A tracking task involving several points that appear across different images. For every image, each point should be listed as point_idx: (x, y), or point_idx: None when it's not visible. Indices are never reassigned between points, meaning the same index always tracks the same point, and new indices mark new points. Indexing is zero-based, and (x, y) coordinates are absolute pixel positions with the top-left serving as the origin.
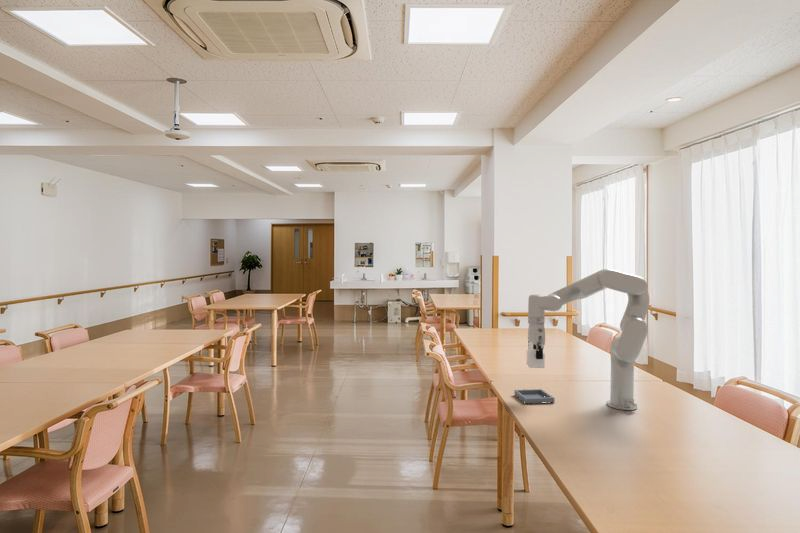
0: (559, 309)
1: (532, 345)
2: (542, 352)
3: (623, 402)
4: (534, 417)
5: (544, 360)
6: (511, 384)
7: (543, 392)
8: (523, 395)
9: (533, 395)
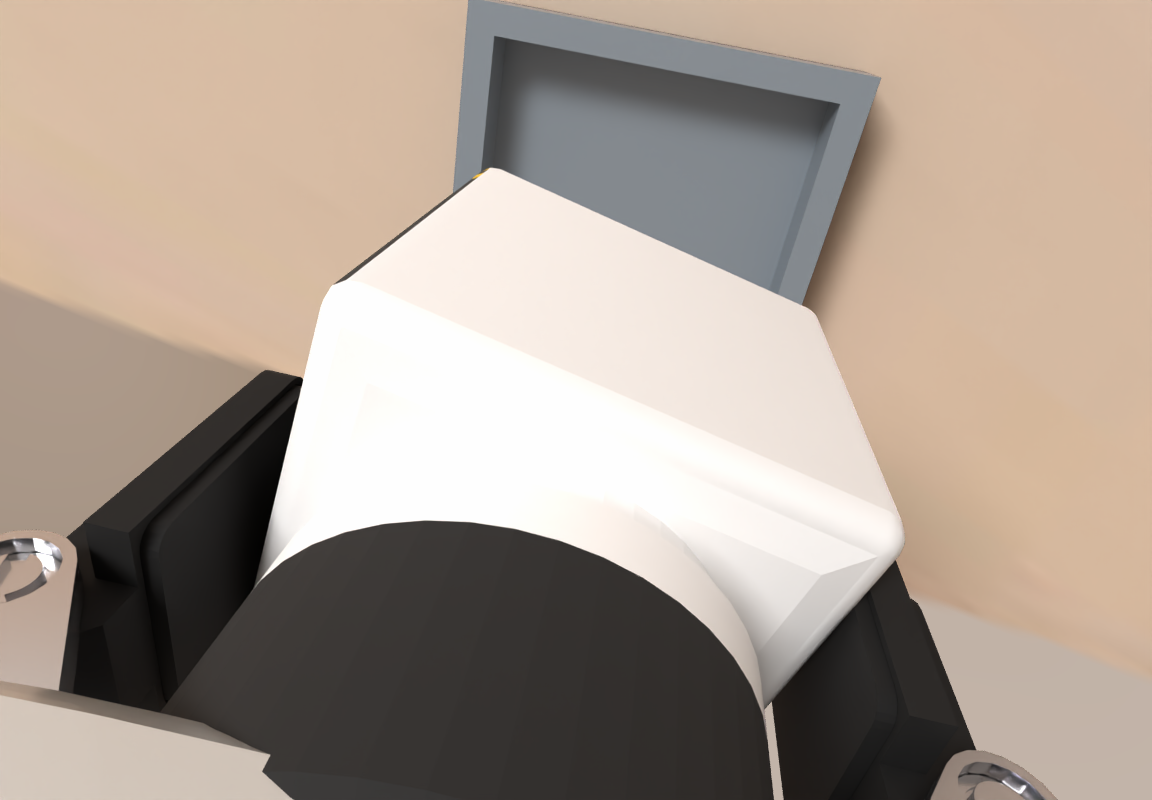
0: None
1: None
2: (928, 675)
3: None
4: (1094, 536)
5: (851, 400)
6: (58, 138)
7: (592, 54)
8: None
9: (553, 175)
